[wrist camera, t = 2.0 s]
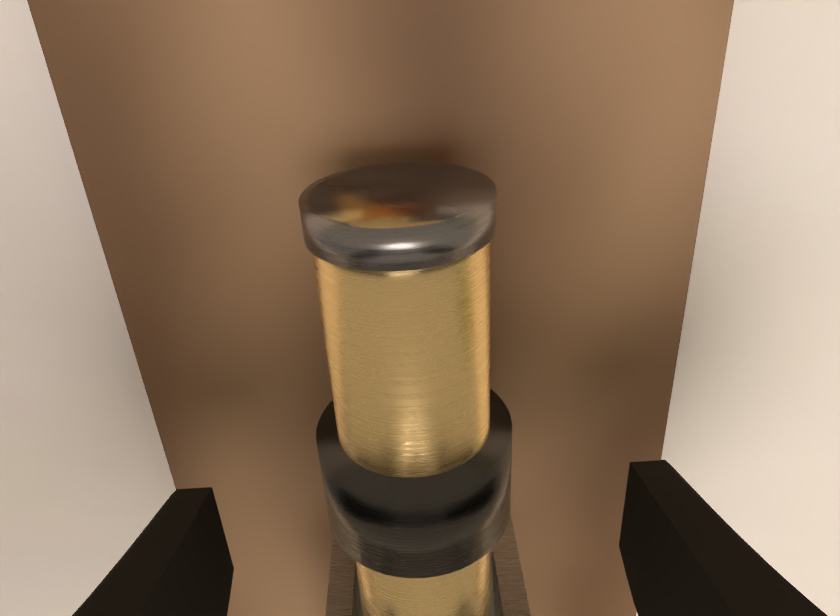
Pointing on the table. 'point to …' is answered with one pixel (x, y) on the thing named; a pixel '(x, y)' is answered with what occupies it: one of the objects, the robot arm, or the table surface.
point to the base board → (388, 142)
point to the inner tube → (410, 382)
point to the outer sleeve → (505, 581)
